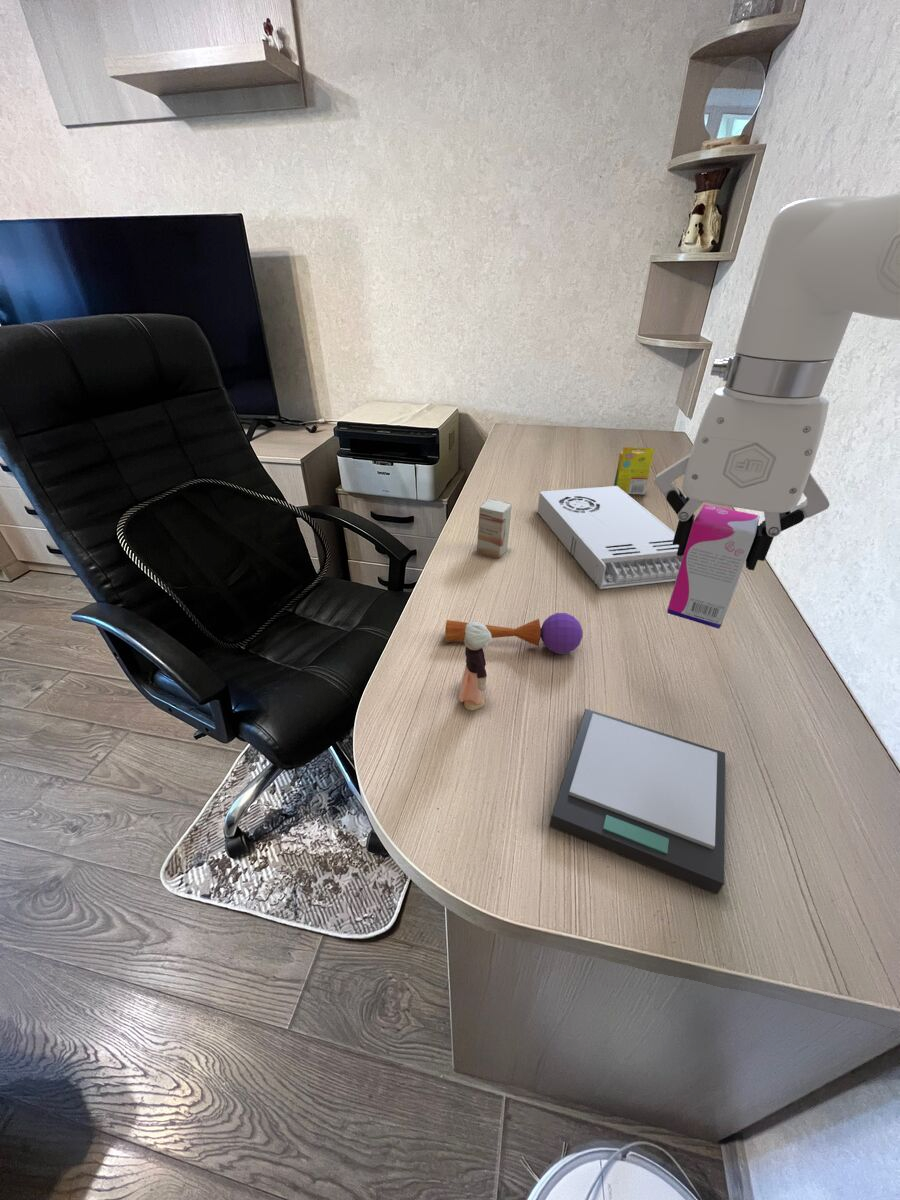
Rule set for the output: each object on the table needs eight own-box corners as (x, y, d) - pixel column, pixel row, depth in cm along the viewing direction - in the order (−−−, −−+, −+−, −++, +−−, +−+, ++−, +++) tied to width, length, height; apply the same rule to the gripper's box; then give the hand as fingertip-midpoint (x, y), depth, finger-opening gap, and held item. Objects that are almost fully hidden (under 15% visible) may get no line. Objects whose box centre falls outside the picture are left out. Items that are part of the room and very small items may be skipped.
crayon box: (642, 490, 126) (653, 444, 119) (644, 495, 123) (656, 448, 117) (612, 489, 126) (621, 443, 120) (614, 493, 124) (623, 447, 117)
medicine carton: (475, 553, 99) (477, 506, 93) (485, 544, 102) (487, 497, 96) (500, 559, 97) (503, 511, 91) (508, 550, 100) (512, 503, 94)
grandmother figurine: (449, 685, 69) (449, 610, 61) (474, 678, 70) (478, 604, 63) (470, 725, 63) (473, 648, 56) (498, 717, 64) (504, 640, 57)
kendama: (448, 605, 77) (581, 606, 75) (450, 639, 80) (579, 642, 77) (442, 621, 72) (585, 624, 69) (445, 657, 74) (583, 661, 72)
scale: (720, 763, 58) (727, 749, 57) (717, 894, 46) (726, 880, 45) (583, 719, 64) (586, 704, 62) (549, 826, 52) (552, 811, 50)
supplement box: (728, 604, 59) (763, 514, 52) (719, 630, 54) (756, 536, 48) (677, 589, 61) (704, 501, 55) (664, 613, 57) (692, 521, 51)
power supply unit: (599, 589, 88) (604, 565, 86) (537, 512, 115) (539, 491, 112) (695, 579, 91) (703, 555, 89) (613, 505, 118) (617, 485, 115)
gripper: (666, 377, 44) (626, 555, 54) (906, 395, 38) (810, 593, 48) (674, 364, 50) (636, 528, 60) (885, 378, 44) (803, 558, 54)
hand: (714, 555), depth 54 cm, fingers closed on supplement box, 6 cm apart
